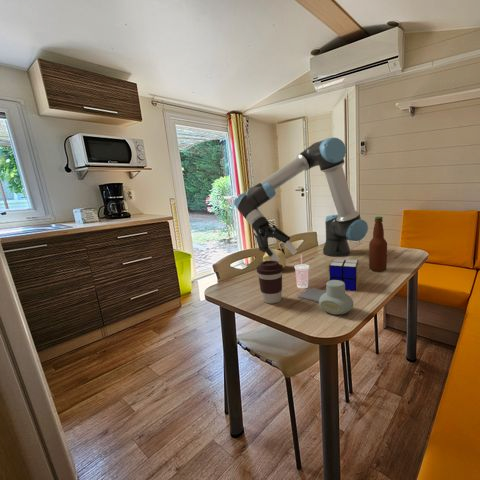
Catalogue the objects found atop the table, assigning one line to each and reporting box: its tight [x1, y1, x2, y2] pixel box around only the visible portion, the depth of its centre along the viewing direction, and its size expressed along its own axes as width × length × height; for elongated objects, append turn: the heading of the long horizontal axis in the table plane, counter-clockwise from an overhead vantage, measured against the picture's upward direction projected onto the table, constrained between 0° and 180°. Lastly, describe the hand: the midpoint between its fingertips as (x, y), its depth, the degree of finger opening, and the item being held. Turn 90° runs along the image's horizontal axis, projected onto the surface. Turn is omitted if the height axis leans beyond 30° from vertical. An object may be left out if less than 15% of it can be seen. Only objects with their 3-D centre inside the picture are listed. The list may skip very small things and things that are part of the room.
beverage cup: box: [294, 254, 310, 289], centre depth 110 cm, size 6×6×14 cm
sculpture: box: [262, 248, 287, 269], centre depth 137 cm, size 12×12×11 cm
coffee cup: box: [256, 260, 284, 305], centre depth 100 cm, size 10×10×15 cm
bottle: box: [368, 216, 388, 273], centre depth 121 cm, size 7×7×25 cm
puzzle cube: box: [328, 258, 359, 292], centre depth 108 cm, size 10×10×10 cm
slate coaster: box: [297, 287, 326, 304], centre depth 102 cm, size 10×10×1 cm
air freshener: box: [318, 279, 354, 315], centre depth 88 cm, size 11×8×10 cm
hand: (286, 257), depth 113 cm, fingers open, 13 cm apart
